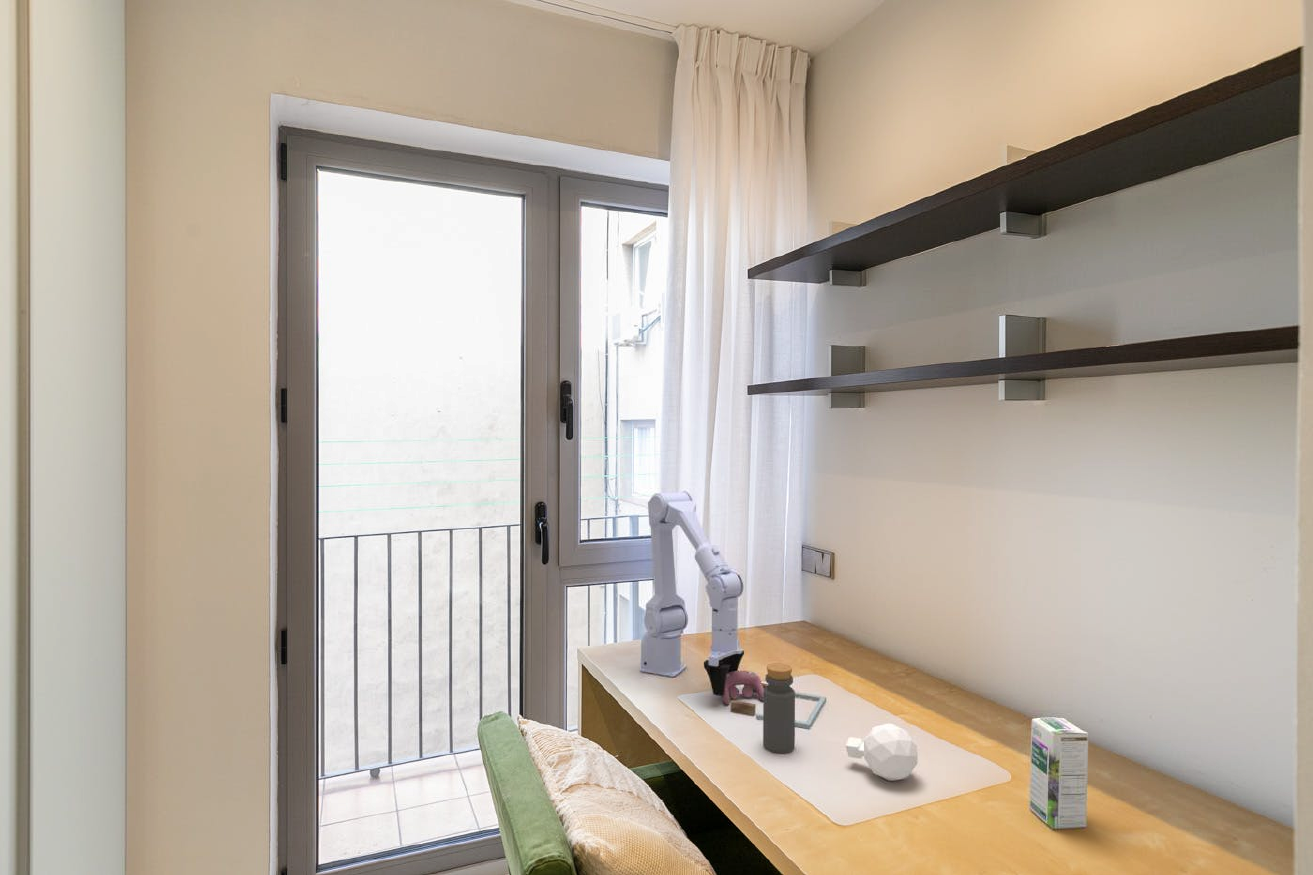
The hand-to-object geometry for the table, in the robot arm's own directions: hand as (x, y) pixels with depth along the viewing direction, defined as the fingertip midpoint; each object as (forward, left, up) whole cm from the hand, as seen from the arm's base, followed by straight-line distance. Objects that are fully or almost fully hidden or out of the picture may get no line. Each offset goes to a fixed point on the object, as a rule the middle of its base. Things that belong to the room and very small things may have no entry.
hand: (724, 688), depth 154 cm
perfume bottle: (+36, -20, -2) cm, 41 cm away
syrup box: (+62, -23, -2) cm, 66 cm away
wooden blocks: (+6, 0, -2) cm, 7 cm away
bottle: (+17, -18, -2) cm, 25 cm away
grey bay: (+15, 0, -2) cm, 15 cm away
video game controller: (+4, +1, -2) cm, 4 cm away
